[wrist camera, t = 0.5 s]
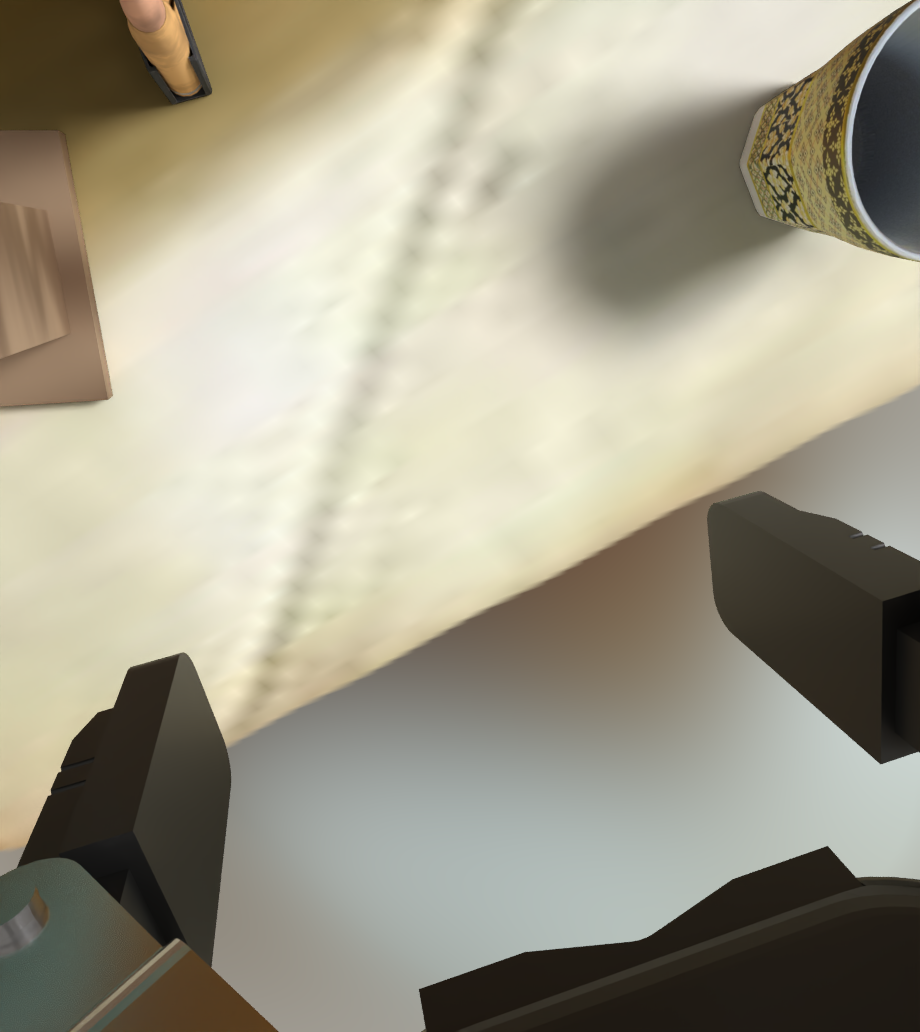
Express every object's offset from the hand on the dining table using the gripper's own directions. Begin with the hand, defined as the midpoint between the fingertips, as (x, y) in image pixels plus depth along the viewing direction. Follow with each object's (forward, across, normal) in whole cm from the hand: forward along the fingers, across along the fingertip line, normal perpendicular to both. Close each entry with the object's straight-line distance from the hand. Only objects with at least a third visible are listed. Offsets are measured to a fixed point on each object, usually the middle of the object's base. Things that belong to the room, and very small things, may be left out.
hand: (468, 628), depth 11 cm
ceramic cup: (+28, -26, -4) cm, 39 cm away
